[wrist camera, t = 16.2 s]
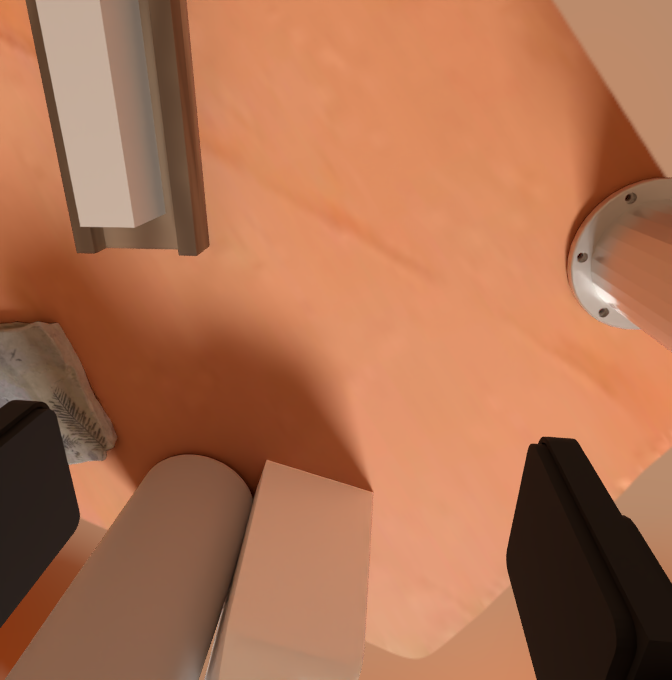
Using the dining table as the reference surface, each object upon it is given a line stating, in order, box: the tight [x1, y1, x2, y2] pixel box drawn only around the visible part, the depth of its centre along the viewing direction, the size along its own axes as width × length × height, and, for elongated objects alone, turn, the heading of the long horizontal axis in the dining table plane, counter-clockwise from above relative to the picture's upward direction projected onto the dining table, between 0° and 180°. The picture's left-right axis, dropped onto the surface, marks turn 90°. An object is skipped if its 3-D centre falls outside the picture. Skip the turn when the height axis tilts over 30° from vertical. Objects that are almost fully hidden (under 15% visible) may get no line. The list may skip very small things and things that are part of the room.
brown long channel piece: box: [26, 0, 209, 256], centre depth 38 cm, size 10×22×4 cm, turn 0°
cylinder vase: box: [5, 454, 253, 680], centre depth 43 cm, size 12×12×25 cm
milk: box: [205, 460, 374, 680], centre depth 43 cm, size 12×12×26 cm
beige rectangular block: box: [36, 0, 166, 228], centre depth 35 cm, size 4×16×6 cm, turn 0°
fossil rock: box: [0, 321, 117, 464], centre depth 50 cm, size 18×15×2 cm
